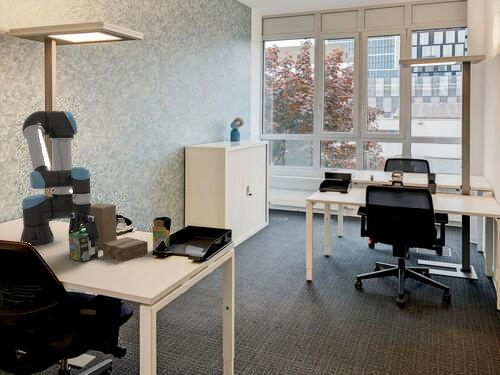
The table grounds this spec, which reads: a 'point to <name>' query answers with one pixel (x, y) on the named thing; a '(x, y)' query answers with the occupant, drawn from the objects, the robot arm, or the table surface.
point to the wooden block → (105, 222)
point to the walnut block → (125, 248)
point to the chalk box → (81, 246)
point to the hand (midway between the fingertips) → (84, 252)
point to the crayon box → (160, 236)
